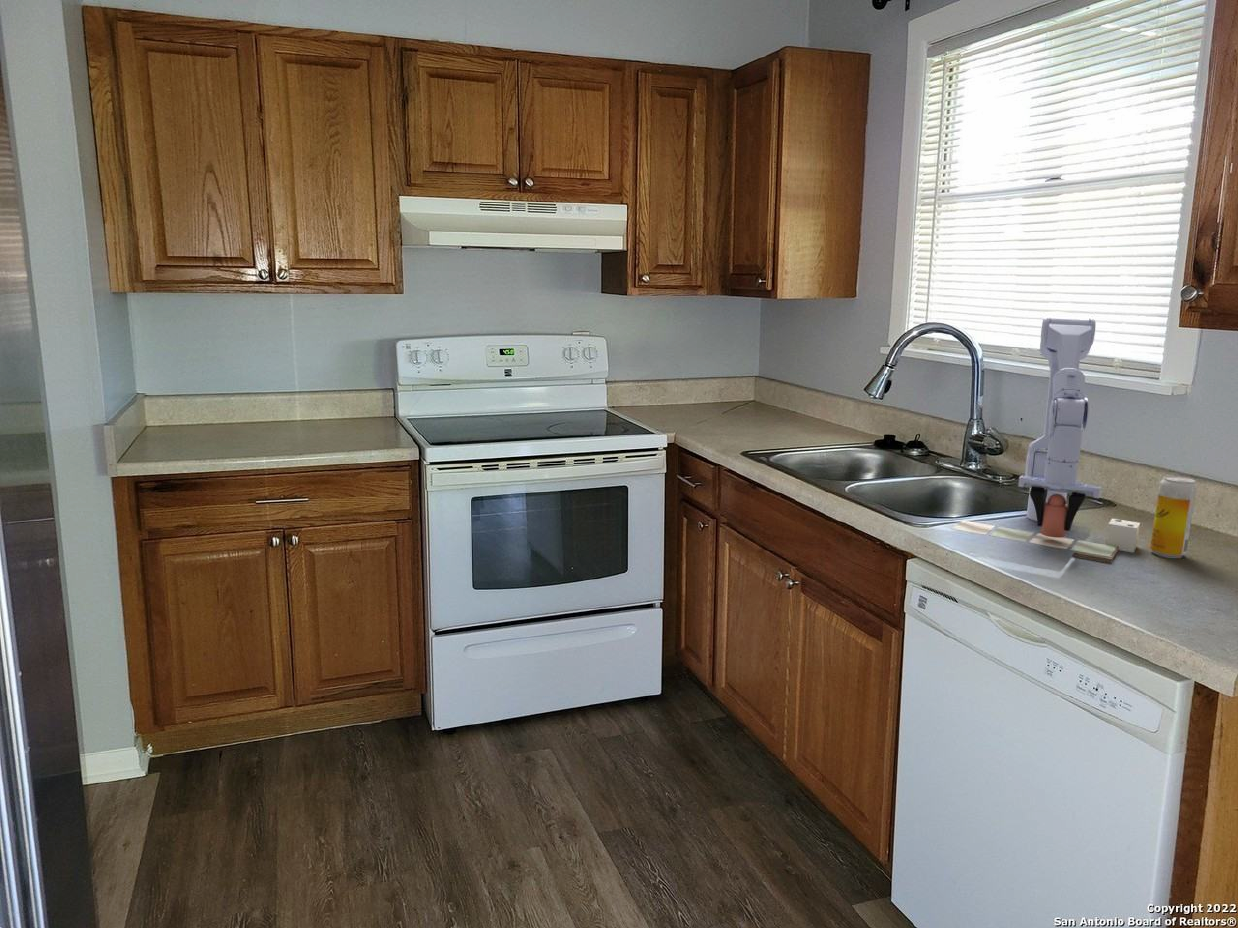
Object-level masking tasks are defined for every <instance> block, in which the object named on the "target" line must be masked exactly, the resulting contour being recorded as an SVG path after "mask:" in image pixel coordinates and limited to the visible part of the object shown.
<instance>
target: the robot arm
mask: <svg viewBox="0 0 1238 928" xmlns="http://www.w3.org/2000/svg"><path fill="white" fill-rule="evenodd" d="M1095 335H1096V320H1095V318H1094V317H1092V316H1091V317H1079V316H1078V317H1077V316H1076V317H1075V316H1074V317H1073V316H1056V315H1055V316H1053V315H1052V316H1051V315H1048V314H1047V315H1046V316H1044V317H1043V320H1042V323H1041V331H1040V344H1039V351H1040V356H1041V357H1043V358H1044V359H1047V360H1048V361H1047V362H1048V366H1049V379H1048V388H1047V397H1046V399H1047V400H1046V408H1045V416H1044V417H1045V418H1044V428H1043V435H1042V436H1040V437H1038V438H1037V439H1035V440H1033V441H1031V442H1030V444H1029V445H1028V448H1027V450H1028V451H1027V454H1026V460H1025V469H1024V475H1020V476H1019V477H1018V485H1017V487H1018V488H1029V492H1028V493H1029V494H1028V503H1027V510H1026V518H1028V520H1031V521H1035V522H1037V527H1041V526H1042V518H1043V510H1044V503H1046V502H1048V499H1049V497H1050V496H1051V495H1053V494H1061V495H1062V496H1064V498H1065V499H1066V500H1067V495H1068V494H1070V495H1069V496H1068V503H1067V505H1068V515H1067V520H1066V525H1065V531H1066V532H1070V530H1071V529H1072V526H1073V525H1072V524H1073V522H1074V520H1075V517H1076V515H1077V512H1079V509H1080V508H1081V505H1082V504H1083V503H1084V501H1085V500H1086V499H1087V497H1092V498H1093V499H1094V498H1095V499H1100V497H1101V495H1102V494H1101V493H1102V486H1097V485H1092V484H1087V483H1082V482H1078V481H1077V479H1078V472H1079V464H1080V455H1081V449H1082V448H1081V447H1082V441H1083V434H1084V430H1085V429H1086V427H1087V426H1088V421H1089V417H1090V416H1089V414H1090V403H1089V398H1088V395H1086V376H1085V374H1084V372H1082V371H1081V370H1080V369H1079V368H1080V363H1081V362H1080V361H1081V360H1083V359H1087V356H1088V354H1089V353H1090V351H1091V348H1092V345H1093V343H1094V340H1095ZM1082 428H1083V429H1082Z"/></svg>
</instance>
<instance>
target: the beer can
mask: <svg viewBox="0 0 1238 928" xmlns="http://www.w3.org/2000/svg"><path fill="white" fill-rule="evenodd" d="M1158 487H1159V488H1158V493H1157V499H1156V507H1155V514H1154V518H1153V525H1152V532H1151V540H1150V545H1149V549H1151V551H1152V553H1153V554H1154V555H1155V556H1159V557H1163V558H1169V559H1181V558H1183V556H1185V555H1186V554H1187V552H1188V551H1187V549H1188V544H1189V539H1190V538H1189V536H1190V531H1191V525H1192V519H1193V513H1194V506H1195V501H1196V495H1197V494H1196V493H1197V488H1198V486H1197V484H1196V480H1194V479H1192V478H1190V477H1184V476H1179V475H1178V476H1176V475H1166V476H1163V477H1162V479H1161V481H1160V482H1159V485H1158Z"/></svg>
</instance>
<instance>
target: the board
mask: <svg viewBox="0 0 1238 928" xmlns="http://www.w3.org/2000/svg"><path fill="white" fill-rule="evenodd" d="M996 527H997V526H996V525H993V524H992V525H991V524H985V523H982V522H975V521H968V520H963V519H962V520H961V521H959V522H958V523H957V524H955V525H954V526H953V527H951V528H950V529H951V530H955V531H961V532H967V533H972V534H973V533H974V534H978V535H982V536H983V535H988V534H989V533H990V532H991V531H992V530H993V529H995V528H996ZM1034 534H1035V532H1033V531H1029V530H1028V531H1027V530H1021V529H1015V528H1009V527H1004V526H998V527H997V528H996V529H995V530H994V531H992V532H991V534H989V535H988V536H989V537H995V538H1001V539H1007V540H1011V541H1012V540H1013V541H1018V542H1024V543H1026V542H1027V541H1028V540H1029V538H1031V537H1032V536H1033V535H1034ZM1074 541H1075V539H1072V538H1067V537H1061V538H1057V537H1049V536H1045V535H1042V534H1041V532H1040V533H1039V532H1038V533H1037V534H1036V535H1035V536H1034V537H1033V538H1032V539H1031V540H1030V541H1029V542H1028V543H1029V544H1034V545H1040V546H1046V547H1052V548H1056V549H1057V548H1058V549H1062V550H1063V549H1064V550H1067V549H1068V548H1069V547H1070V546H1071V545H1072V543H1074ZM1070 551H1074V553H1073V554H1072V555H1071V557H1074V558H1080V559H1085V560H1091V561H1095V562H1096V561H1097V562H1101V563H1107V564H1112V562H1113V561H1114V559H1115V558H1116V556H1117V554H1118V553H1119V551H1120V550H1119V547H1116V546H1110V545H1105V544H1104V543H1097V542H1091V541H1086V540H1080V539H1078V540H1077V541H1076V542H1075V544H1074V545H1073V546H1072V548H1071V549H1070Z"/></svg>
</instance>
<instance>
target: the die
mask: <svg viewBox="0 0 1238 928" xmlns="http://www.w3.org/2000/svg"><path fill="white" fill-rule="evenodd" d="M1140 525H1141V522H1136V521H1129V520H1124V519H1118V518H1111V520H1109V522H1108V524H1107V530H1106V538H1105V544H1104V545H1110V546H1116V547H1119V550H1118V551H1123V552H1128V553H1134V552H1135V551H1136V549H1137V546H1138V540H1139V539H1138V538H1139V534H1140Z"/></svg>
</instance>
